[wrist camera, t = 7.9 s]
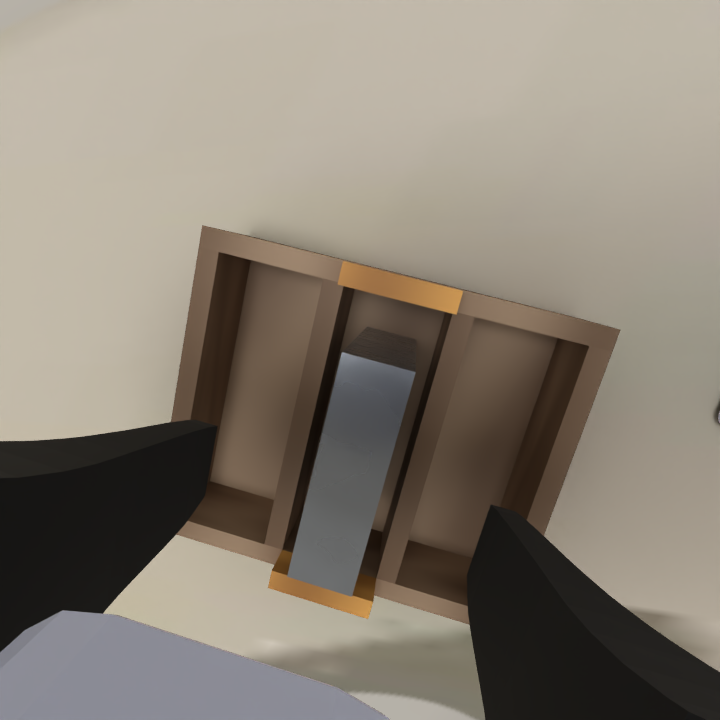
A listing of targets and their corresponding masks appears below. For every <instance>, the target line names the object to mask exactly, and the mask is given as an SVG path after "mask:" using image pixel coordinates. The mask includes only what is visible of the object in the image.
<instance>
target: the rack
mask: <svg viewBox="0 0 720 720" xmlns="http://www.w3.org/2000/svg"><path fill="white" fill-rule="evenodd" d="M366 327H371V328H375V329H379V330H382V331H386V332H390V333H394V334H397V335H401V336H405V337H409V338H413V339H416V373H415V377H414V380H413V384H412V387H411V391H410V394H409V398H408V401H407V405H406V408H405V412H404V415H403V419H402V422H401V426H400V429H399V433H398V436H397V440H396V443H395V447H394V450H393V454H392V457H391V461H390V464H389V468H388V471H387V475H386V479H385V482H384V486H383V489H382V493H381V496H380V500H379V503H378V507H377V510H376V514H375V517H374V521H373V524H372V528H371V531H370V535H369V538H368V542H367V545H366V549H365V552H364V556H363V559H362V563H361V566H360V570H359V574H358V577H357V581H356V584H355V588H354V591H353V595H352V597H350V596H347V595H344V594H341V593H338V592H334V591H331V590H328V589H325V588H322V587H319V586H315V585H312V584H309V583H306V582H303V581H299V580H296V579H293V578H290V577H287V575H288V571H289V567H290V562H291V558H292V554H293V550H294V546H295V542H296V538H297V534H298V530H299V526H300V522H301V517H302V513H303V509H304V505H305V501H306V497H307V493H308V489H309V485H310V481H311V477H312V472H313V468H314V464H315V460H316V456H317V452H318V448H319V444H320V440H321V436H322V432H323V428H324V423H325V419H326V415H327V411H328V407H329V403H330V399H331V395H332V391H333V387H334V383H335V378H336V374H337V370H338V366H339V362H340V358H341V354H342V352H343V351H344V350H345V349H346V348H347V347H348V345H349V344H350V343H351V342H352V341H353V340H354V339H355V338H356V337H357V336H358V335H359V334H360V333H361V332H362V331H363V330H364V329H365V328H366ZM619 332H620V330H619V329H615V328H612V327H608V326H604V325H601V324H597V323H593V322H590V321H586V320H582V319H579V318H575V317H571V316H567V315H563V314H559V313H555V312H551V311H547V310H543V309H539V308H535V307H531V306H527V305H523V304H519V303H515V302H511V301H507V300H503V299H499V298H495V297H491V296H487V295H483V294H479V293H475V292H471V291H467V290H463V289H459V288H455V287H451V286H447V285H443V284H439V283H435V282H431V281H427V280H423V279H419V278H415V277H411V276H407V275H403V274H399V273H395V272H391V271H387V270H383V269H379V268H375V267H371V266H367V265H363V264H359V263H355V262H351V261H347V260H343V259H339V258H335V257H331V256H327V255H323V254H319V253H315V252H311V251H307V250H303V249H299V248H295V247H291V246H287V245H283V244H279V243H275V242H271V241H267V240H263V239H259V238H255V237H251V236H247V235H242V234H238V233H233V232H229V231H225V230H220V229H216V228H211V227H207V226H203V225H202V231H201V237H200V244H199V250H198V256H197V262H196V269H195V275H194V281H193V287H192V294H191V300H190V306H189V312H188V319H187V325H186V331H185V337H184V344H183V350H182V356H181V363H180V369H179V375H178V381H177V388H176V394H175V400H174V406H173V413H172V419H171V422H176V421H184V420H198V421H202V422H205V423H209V424H212V425H216V426H218V428H217V433H216V438H215V444H214V449H213V455H212V460H211V466H210V471H209V477H208V482H207V487H206V493H205V497H204V498H203V500H202V501H201V502H200V504H199V505H198V507H197V508H196V510H195V511H194V513H193V514H192V515H191V517H190V518H189V519H188V521H187V522H186V524H185V525H184V526H183V527H182V528H181V529H180V531H179V532H178V533H177V535H180V536H183V537H186V538H190V539H193V540H196V541H199V542H203V543H206V544H209V545H212V546H216V547H219V548H222V549H225V550H229V551H232V552H235V553H238V554H242V555H245V556H248V557H251V558H255V559H258V560H261V561H264V562H268V563H271V564H274V567H273V569H272V572H271V577H270V581H269V586H268V588H270V589H274V590H277V591H280V592H283V593H286V594H290V595H293V596H296V597H299V598H302V599H306V600H309V601H312V602H315V603H318V604H322V605H325V606H328V607H331V608H334V609H338V610H341V611H344V612H347V613H350V614H354V615H357V616H360V617H363V618H367V619H368V617H369V614H370V611H371V607H372V604H373V598H374V595H375V596H378V597H382V598H385V599H388V600H391V601H395V602H398V603H401V604H404V605H408V606H411V607H414V608H417V609H421V610H424V611H427V612H430V613H434V614H437V615H440V616H443V617H447V618H450V619H453V620H456V621H460V622H463V623H466V624H469V625H470V623H469V616H468V602H467V573H468V570H469V567H470V564H471V561H472V558H473V555H474V552H475V549H476V546H477V543H478V540H479V537H480V534H481V532H482V529H483V526H484V523H485V520H486V517H487V514H488V511H489V508H490V505H495V506H498V507H502V508H505V509H509V510H512V511H515V512H517V513H518V514H520V515H521V516H522V517H523V518H525V519H526V520H527V521H528V522H529V523H530V524H531V525H532V526H534V527H535V528H536V529H537V530H538V531H539V532H540V533H541V534H542V535H543V536H544V533H545V531H546V528H547V525H548V523H549V520H550V517H551V515H552V512H553V509H554V506H555V504H556V501H557V498H558V496H559V493H560V490H561V488H562V485H563V482H564V480H565V477H566V474H567V472H568V469H569V466H570V464H571V461H572V458H573V456H574V453H575V450H576V448H577V445H578V442H579V440H580V437H581V434H582V432H583V429H584V426H585V423H586V421H587V418H588V415H589V413H590V410H591V407H592V405H593V402H594V399H595V397H596V394H597V391H598V389H599V386H600V383H601V381H602V378H603V375H604V373H605V370H606V367H607V365H608V362H609V359H610V357H611V354H612V351H613V349H614V346H615V343H616V340H617V338H618V335H619Z"/></svg>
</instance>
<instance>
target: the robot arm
mask: <svg viewBox="0 0 720 720" xmlns="http://www.w3.org/2000/svg"><path fill="white" fill-rule="evenodd" d="M718 421H719V423H720V412H719V415H718ZM217 428H218V426H216V425H212V424H209V423H205V422H202V421H198V420H184V421H176V422H170V423H164V424H159V425H153V426H148V427H142V428H137V429H131V430H125V431H119V432H112V433H105V434H98V435H92V436H85V437H76V438H66V439H53V440H39V441H0V720H389V718H388V717H386V716H385V715H383V714H382V713H380V712H379V711H377V710H375V709H374V708H372V707H370V706H369V705H367V704H365V703H363V702H362V701H360V700H358V699H357V698H355V697H353V696H352V695H350V694H348V693H346V692H345V691H343V690H341V689H340V688H338V687H335V686H332V685H329V684H326V683H323V682H320V681H317V680H314V679H311V678H308V677H305V676H302V675H298V674H295V673H292V672H289V671H286V670H283V669H280V668H277V667H274V666H271V665H268V664H265V663H262V662H259V661H256V660H253V659H250V658H247V657H244V656H241V655H238V654H234V653H231V652H228V651H225V650H222V649H219V648H216V647H213V646H210V645H207V644H204V643H201V642H198V641H195V640H192V639H189V638H186V637H183V636H180V635H177V634H174V633H170V632H167V631H164V630H161V629H158V628H155V627H152V626H149V625H146V624H143V623H140V622H137V621H134V620H131V619H128V618H125V617H122V616H119V615H112V614H103V613H104V611H105V610H106V609H107V608H108V607H109V605H110V604H111V603H112V602H113V601H114V600H115V599H116V597H117V596H118V595H119V594H120V593H121V592H122V591H123V590H124V589H125V588H126V587H127V586H128V584H129V583H130V582H131V581H132V580H133V579H134V578H135V577H136V576H137V575H138V574H139V573H140V572H141V571H142V570H143V569H144V568H145V567H146V566H147V565H148V563H149V562H150V561H151V560H152V559H153V558H154V557H155V556H156V555H157V554H158V553H159V552H160V551H161V550H162V549H163V548H164V547H165V546H166V545H167V543H168V542H169V541H170V540H171V539H172V538H173V537H174V536H175V535H176V534H177V533H178V532H179V531H180V529H181V528H182V527H183V526H184V525H185V524H186V522H187V521H188V519H189V518H190V517H191V515H192V514H193V513H194V511H195V510H196V508H197V507H198V505H199V504H200V502H201V501H202V500H203V498H204V497H205V493H206V487H207V482H208V477H209V471H210V466H211V460H212V455H213V449H214V444H215V438H216V433H217ZM467 602H468V616H469V623H470V629H471V635H472V641H473V648H474V653H475V659H476V665H477V671H478V677H479V682H480V688H481V694H482V700H483V706H484V712H485V720H720V672H719V671H717V670H715V669H714V668H712V667H710V666H709V665H707V664H706V663H704V662H702V661H701V660H699V659H698V658H696V657H695V656H693V655H692V654H690V653H689V652H687V651H686V650H684V649H682V648H681V647H679V646H678V645H676V644H675V643H673V642H672V641H670V640H669V639H667V638H666V637H664V636H663V635H662V634H660V633H659V632H657V631H656V630H654V629H653V628H652V627H650V626H649V625H648V624H646V623H645V622H644V621H642V620H641V619H640V618H638V617H637V616H636V615H634V614H633V613H631V612H630V611H629V610H627V609H626V608H625V607H623V606H622V605H621V604H620V603H618V602H617V601H616V600H615V599H613V598H612V597H611V596H610V595H608V594H607V593H606V592H605V591H604V590H602V589H601V588H600V587H599V586H598V585H597V584H595V583H594V582H593V581H592V580H591V579H590V578H588V577H587V576H586V575H585V574H584V573H583V572H582V571H581V570H579V569H578V568H577V567H576V566H575V565H574V564H573V563H572V562H571V561H570V560H568V559H567V558H566V557H565V556H564V555H563V554H562V553H561V552H560V551H559V550H558V549H557V548H556V547H555V546H554V545H553V544H551V543H550V542H549V541H548V540H547V539H546V538H545V537H544V536H543V535H542V534H541V533H540V532H539V531H538V530H537V529H536V528H535V527H534V526H532V525H531V524H530V523H529V522H528V521H527V520H526V519H525V518H523V517H522V516H521V515H520V514H518V513H517V512H515V511H512V510H509V509H505V508H502V507H498V506H495V505H490V508H489V511H488V514H487V517H486V520H485V523H484V526H483V529H482V532H481V534H480V537H479V540H478V543H477V546H476V549H475V552H474V555H473V558H472V561H471V564H470V567H469V570H468V573H467Z"/></svg>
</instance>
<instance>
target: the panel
mask: <svg viewBox="0 0 720 720" xmlns="http://www.w3.org/2000/svg"><path fill="white" fill-rule="evenodd" d="M415 373H416V339H413V338H409V337H405V336H401V335H397V334H394V333H390V332H386V331H382V330H379V329H375V328H371V327H366V328H365V329H364V330H363V331H362V332H361V333H360V334H359V335H358V336H357V337H356V338H355V339H354V340H353V341H352V342H351V343H350V344H349V345H348V347H347V348H346V349H345V350H344V351H343V352H342V354H341V358H340V362H339V366H338V370H337V374H336V378H335V383H334V387H333V391H332V395H331V399H330V403H329V407H328V411H327V415H326V419H325V423H324V428H323V432H322V436H321V440H320V444H319V448H318V452H317V456H316V460H315V464H314V468H313V472H312V477H311V481H310V485H309V489H308V493H307V497H306V501H305V505H304V509H303V513H302V517H301V522H300V526H299V530H298V534H297V538H296V542H295V546H294V550H293V554H292V558H291V562H290V567H289V571H288V575H287V577H290V578H293V579H296V580H299V581H303V582H306V583H309V584H312V585H315V586H319V587H322V588H325V589H328V590H331V591H334V592H338V593H341V594H344V595H347V596H350V597H352V595H353V591H354V588H355V584H356V581H357V577H358V574H359V570H360V566H361V563H362V559H363V556H364V552H365V549H366V545H367V542H368V538H369V535H370V531H371V528H372V524H373V521H374V517H375V514H376V510H377V507H378V503H379V500H380V496H381V493H382V489H383V486H384V482H385V479H386V475H387V471H388V468H389V464H390V461H391V457H392V454H393V450H394V447H395V443H396V440H397V436H398V433H399V429H400V426H401V422H402V419H403V415H404V412H405V408H406V405H407V401H408V398H409V394H410V391H411V387H412V384H413V380H414V377H415Z"/></svg>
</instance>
